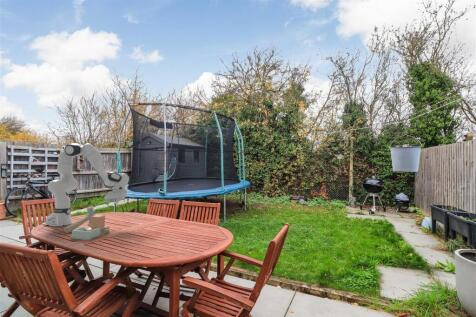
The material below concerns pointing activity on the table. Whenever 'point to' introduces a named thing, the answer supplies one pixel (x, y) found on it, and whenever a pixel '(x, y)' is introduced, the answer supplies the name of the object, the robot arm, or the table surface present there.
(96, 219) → the block
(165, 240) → the table surface
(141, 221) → the table surface
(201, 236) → the table surface
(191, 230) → the table surface
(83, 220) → the hammer
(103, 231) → the board
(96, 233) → the box
